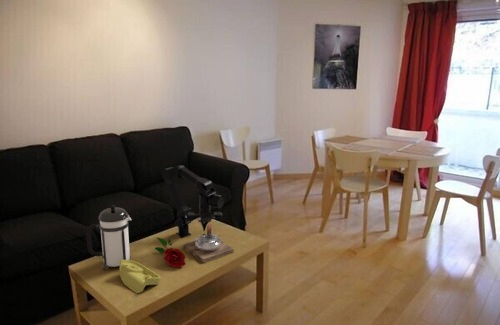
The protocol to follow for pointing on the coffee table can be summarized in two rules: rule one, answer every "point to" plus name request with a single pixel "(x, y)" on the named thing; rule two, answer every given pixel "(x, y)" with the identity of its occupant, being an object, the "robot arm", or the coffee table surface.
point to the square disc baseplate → (208, 255)
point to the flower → (172, 254)
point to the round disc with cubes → (208, 241)
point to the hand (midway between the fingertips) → (204, 231)
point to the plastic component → (137, 275)
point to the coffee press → (112, 236)
